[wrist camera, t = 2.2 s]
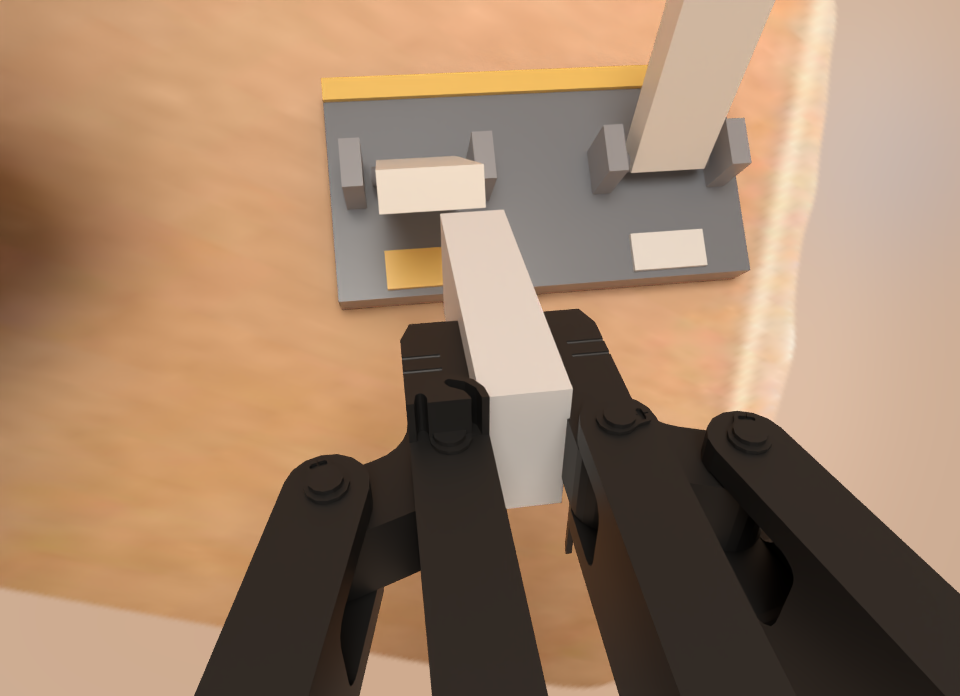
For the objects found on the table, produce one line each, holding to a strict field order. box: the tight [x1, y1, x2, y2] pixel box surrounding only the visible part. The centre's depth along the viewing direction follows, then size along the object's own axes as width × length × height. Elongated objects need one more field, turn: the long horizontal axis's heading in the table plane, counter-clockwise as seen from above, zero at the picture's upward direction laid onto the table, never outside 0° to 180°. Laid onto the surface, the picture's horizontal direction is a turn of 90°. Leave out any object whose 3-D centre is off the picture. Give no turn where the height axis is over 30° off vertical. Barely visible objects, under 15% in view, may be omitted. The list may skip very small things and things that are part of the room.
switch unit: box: [321, 65, 752, 310], centre depth 37 cm, size 22×12×5 cm, turn 96°
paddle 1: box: [371, 156, 486, 214], centre depth 31 cm, size 5×2×10 cm, turn 96°
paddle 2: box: [626, 0, 775, 173], centre depth 33 cm, size 5×2×10 cm, turn 96°
